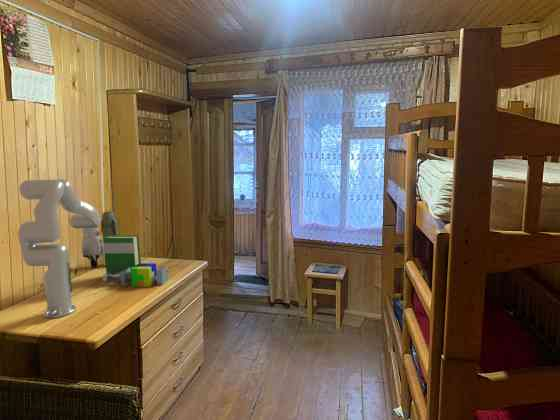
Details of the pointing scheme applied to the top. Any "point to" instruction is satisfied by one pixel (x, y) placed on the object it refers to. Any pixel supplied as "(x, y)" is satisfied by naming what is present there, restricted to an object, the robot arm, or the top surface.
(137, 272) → the puzzle toy
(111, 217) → the stone tower
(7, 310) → the top surface
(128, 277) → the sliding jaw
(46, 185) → the robot arm
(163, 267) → the vise body
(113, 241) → the hardback book
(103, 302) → the top surface
